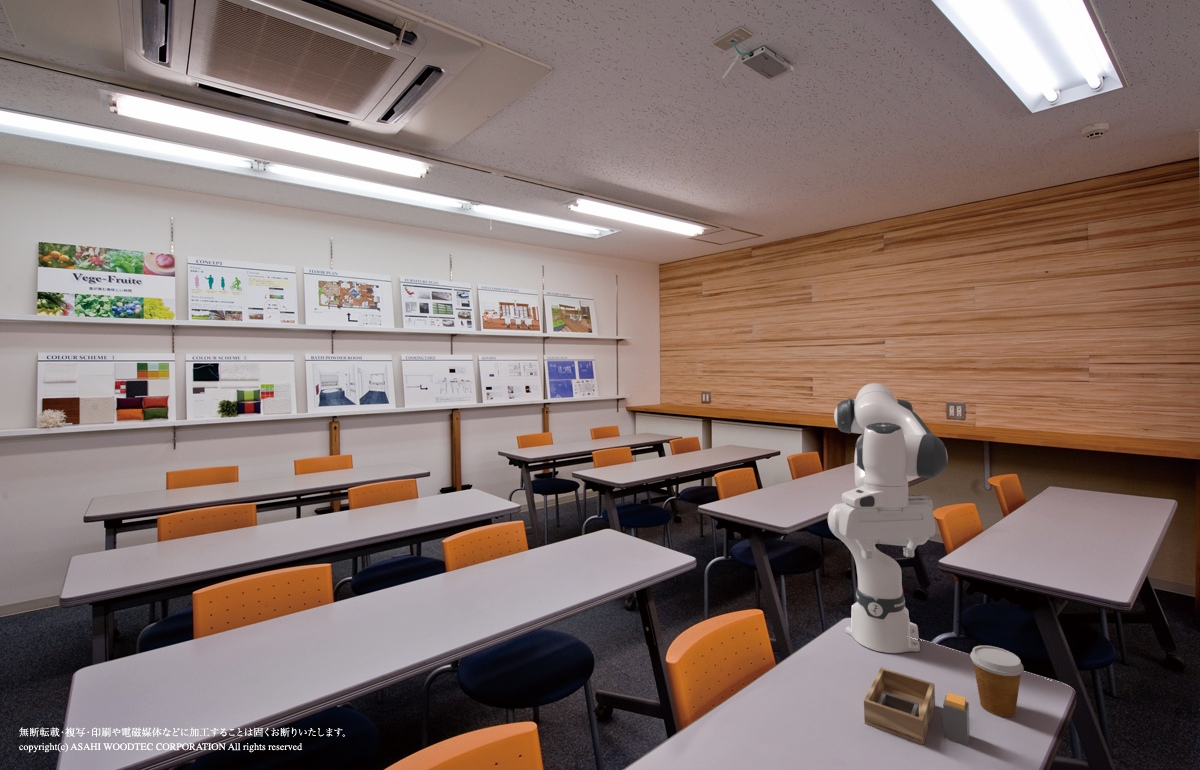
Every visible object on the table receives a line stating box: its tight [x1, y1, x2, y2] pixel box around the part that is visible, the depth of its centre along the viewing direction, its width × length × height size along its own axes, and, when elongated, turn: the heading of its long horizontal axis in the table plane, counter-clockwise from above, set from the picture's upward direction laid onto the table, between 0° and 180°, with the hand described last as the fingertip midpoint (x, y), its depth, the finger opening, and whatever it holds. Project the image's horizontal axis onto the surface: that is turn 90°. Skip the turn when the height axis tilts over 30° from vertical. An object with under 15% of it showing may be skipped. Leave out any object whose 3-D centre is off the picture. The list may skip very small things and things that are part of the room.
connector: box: [942, 692, 970, 747], centre depth 107 cm, size 4×4×8 cm
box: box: [863, 667, 936, 746], centre depth 115 cm, size 16×11×5 cm
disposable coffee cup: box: [969, 645, 1024, 718], centre depth 116 cm, size 10×10×12 cm
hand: (887, 557), depth 115 cm, fingers open, 8 cm apart
